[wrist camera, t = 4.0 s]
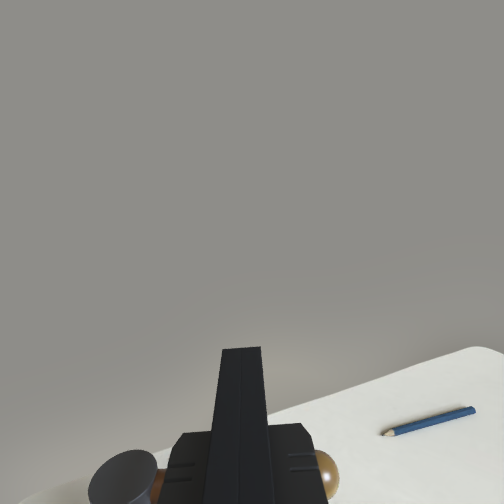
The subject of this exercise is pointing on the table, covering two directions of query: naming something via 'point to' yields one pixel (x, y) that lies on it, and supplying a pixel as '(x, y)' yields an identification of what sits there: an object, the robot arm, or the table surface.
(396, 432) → the pencil
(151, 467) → the handle
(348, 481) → the table surface
